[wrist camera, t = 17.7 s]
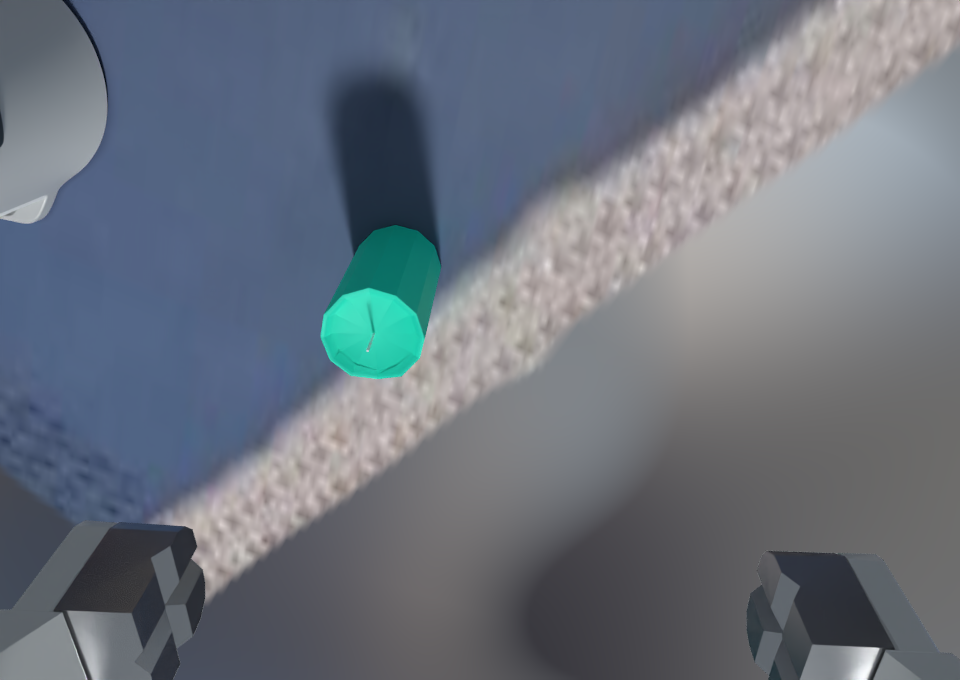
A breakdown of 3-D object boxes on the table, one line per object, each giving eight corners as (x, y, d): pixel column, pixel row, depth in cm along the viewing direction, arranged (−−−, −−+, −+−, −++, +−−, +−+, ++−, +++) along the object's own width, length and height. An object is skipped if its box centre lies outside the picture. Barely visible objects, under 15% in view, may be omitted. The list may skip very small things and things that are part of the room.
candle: (341, 279, 51) (297, 366, 41) (378, 209, 49) (340, 282, 38) (416, 318, 53) (392, 412, 42) (456, 251, 50) (440, 334, 40)
